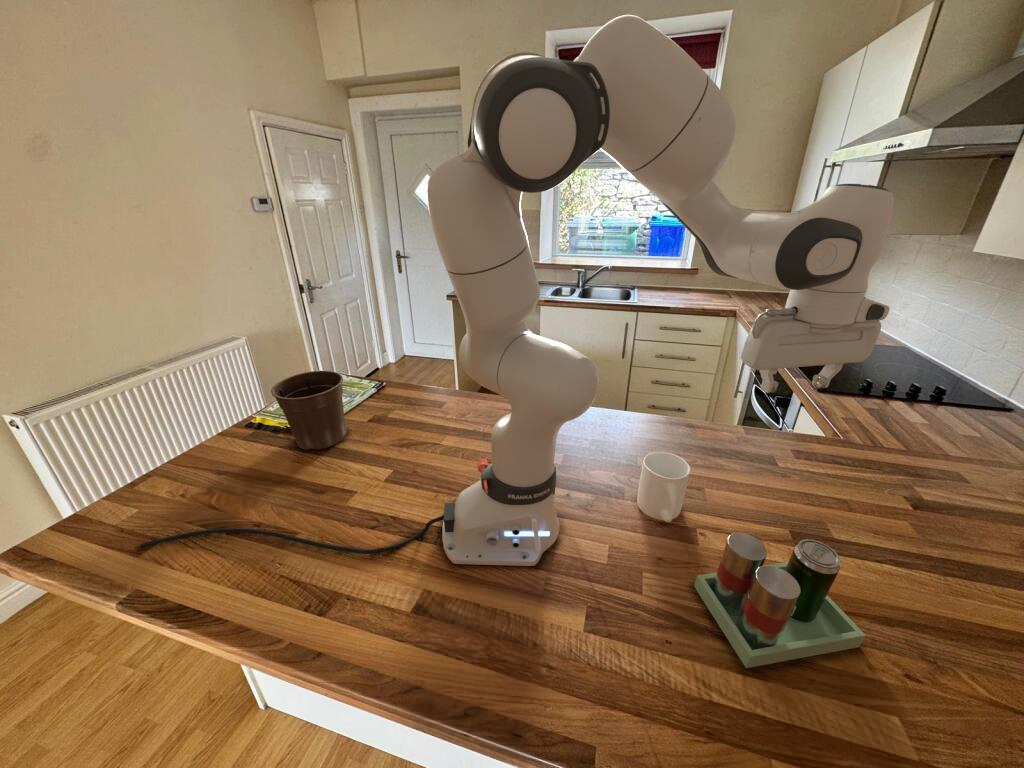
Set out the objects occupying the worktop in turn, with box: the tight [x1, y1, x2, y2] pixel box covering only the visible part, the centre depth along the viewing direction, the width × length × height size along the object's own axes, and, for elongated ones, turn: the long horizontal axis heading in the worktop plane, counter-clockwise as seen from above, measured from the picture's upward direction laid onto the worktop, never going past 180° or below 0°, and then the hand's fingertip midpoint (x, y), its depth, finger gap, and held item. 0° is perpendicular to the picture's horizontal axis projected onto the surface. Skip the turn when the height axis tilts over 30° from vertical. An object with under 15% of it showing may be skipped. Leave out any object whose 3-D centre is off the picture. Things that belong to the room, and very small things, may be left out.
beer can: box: [785, 538, 842, 623], centre depth 59 cm, size 5×5×12 cm
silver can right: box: [736, 564, 800, 650], centre depth 55 cm, size 5×5×12 cm
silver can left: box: [712, 532, 768, 616], centre depth 60 cm, size 5×5×12 cm
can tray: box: [693, 561, 867, 669], centre depth 60 cm, size 18×13×3 cm
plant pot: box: [270, 370, 348, 451], centre depth 102 cm, size 16×16×16 cm
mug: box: [636, 451, 691, 523], centre depth 78 cm, size 9×12×11 cm
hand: (793, 388), depth 66 cm, fingers open, 8 cm apart
